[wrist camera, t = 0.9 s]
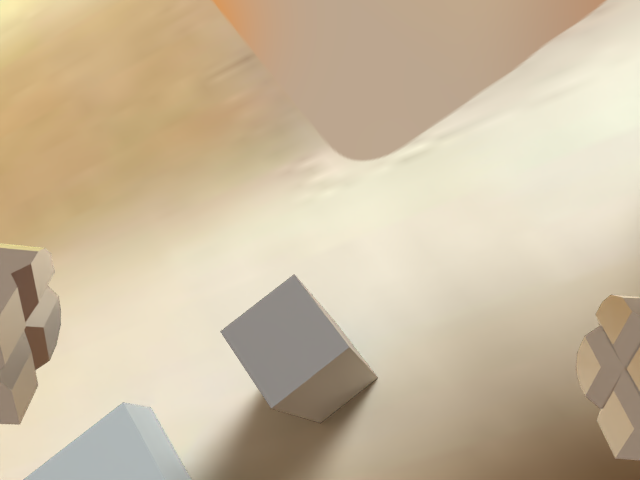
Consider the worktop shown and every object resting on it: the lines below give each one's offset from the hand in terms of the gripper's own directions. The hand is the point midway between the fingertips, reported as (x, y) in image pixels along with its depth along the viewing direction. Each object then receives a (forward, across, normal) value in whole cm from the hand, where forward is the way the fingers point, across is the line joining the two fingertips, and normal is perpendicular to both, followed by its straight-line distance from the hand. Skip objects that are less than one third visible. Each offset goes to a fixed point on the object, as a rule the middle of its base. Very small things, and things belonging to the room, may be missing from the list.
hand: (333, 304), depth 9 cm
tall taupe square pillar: (+23, -4, +26) cm, 35 cm away
